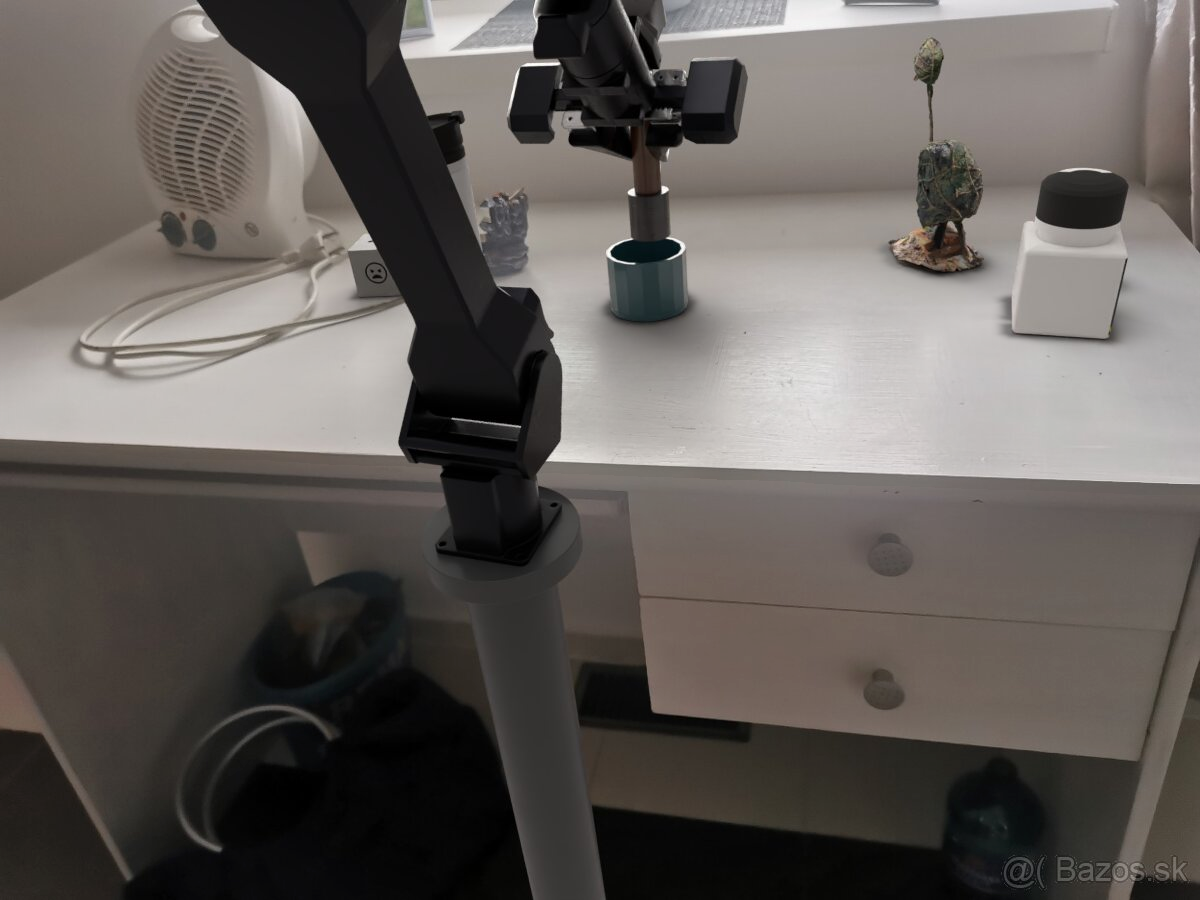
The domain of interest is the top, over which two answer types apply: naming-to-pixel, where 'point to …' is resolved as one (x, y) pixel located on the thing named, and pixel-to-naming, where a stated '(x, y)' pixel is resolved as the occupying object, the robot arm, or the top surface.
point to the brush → (647, 192)
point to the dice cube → (370, 270)
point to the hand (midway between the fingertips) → (651, 156)
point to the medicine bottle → (1072, 256)
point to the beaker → (647, 279)
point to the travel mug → (456, 159)
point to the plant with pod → (941, 189)
